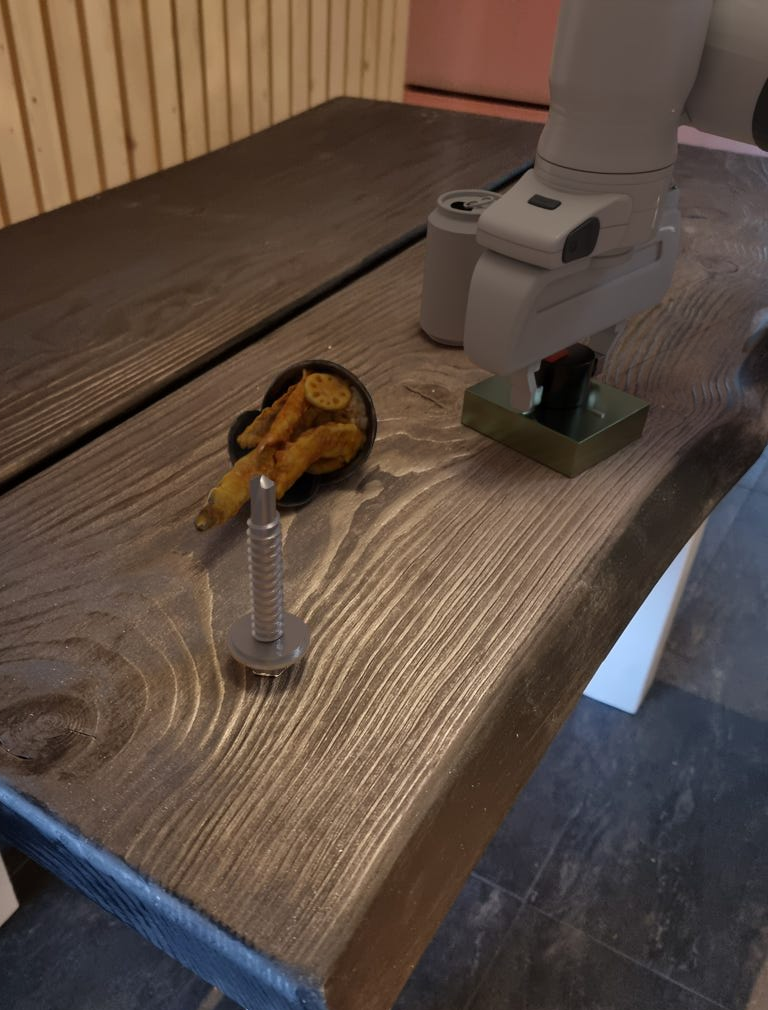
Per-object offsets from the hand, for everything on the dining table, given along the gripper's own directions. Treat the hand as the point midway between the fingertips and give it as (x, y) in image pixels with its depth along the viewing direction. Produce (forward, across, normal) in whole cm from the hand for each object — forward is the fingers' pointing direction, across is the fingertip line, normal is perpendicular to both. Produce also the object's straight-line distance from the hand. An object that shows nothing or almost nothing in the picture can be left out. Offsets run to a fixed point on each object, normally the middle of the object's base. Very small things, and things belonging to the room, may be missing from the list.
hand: (557, 389), depth 72 cm
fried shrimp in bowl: (+4, +22, -7) cm, 23 cm away
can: (+4, -8, -17) cm, 19 cm away
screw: (+4, +34, +6) cm, 35 cm away
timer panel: (+4, 0, 0) cm, 4 cm away
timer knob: (0, 0, 0) cm, 0 cm away
